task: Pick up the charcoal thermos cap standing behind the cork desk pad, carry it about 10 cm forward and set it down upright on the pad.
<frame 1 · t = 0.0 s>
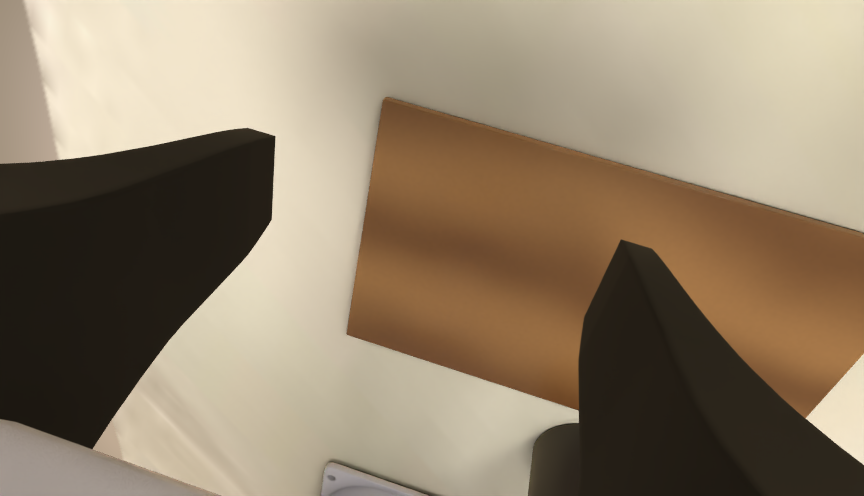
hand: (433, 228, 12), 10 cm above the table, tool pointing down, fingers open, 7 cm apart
desk pad: (591, 299, 24), on the table
thermos cap: (582, 458, 29), on the table
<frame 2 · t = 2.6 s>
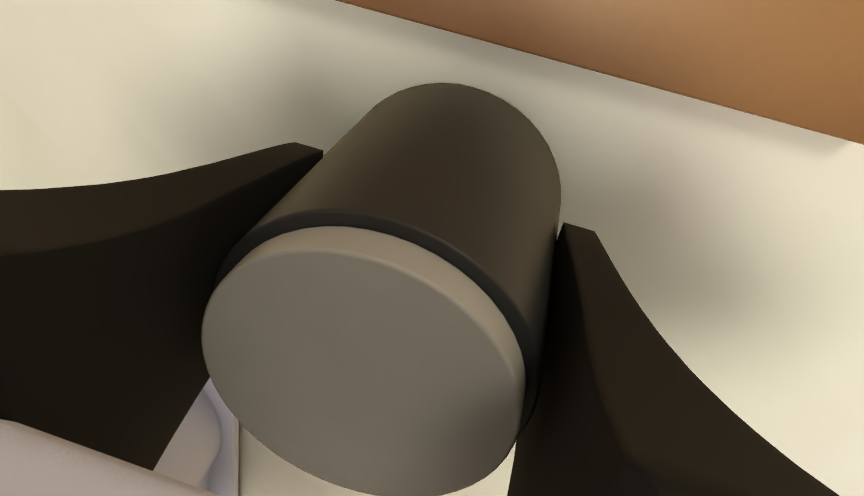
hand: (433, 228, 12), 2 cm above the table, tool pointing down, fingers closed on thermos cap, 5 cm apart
thermos cap: (448, 192, 13), on the table, touching gripper
when the fingers open (2 cm above the table, at t = 6.9 s): thermos cap stays where it is, resting on desk pad.
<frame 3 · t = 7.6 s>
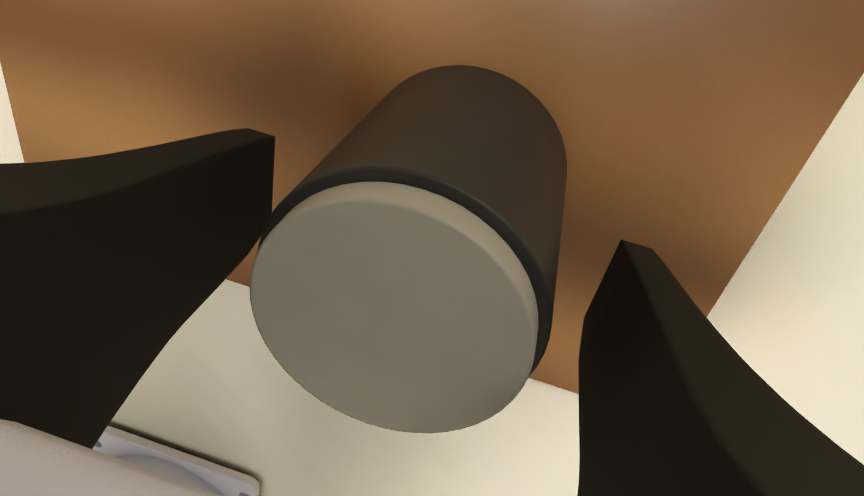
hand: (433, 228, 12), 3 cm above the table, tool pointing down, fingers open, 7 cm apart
desk pad: (352, 129, 14), on the table
thermos cap: (462, 168, 14), resting on desk pad
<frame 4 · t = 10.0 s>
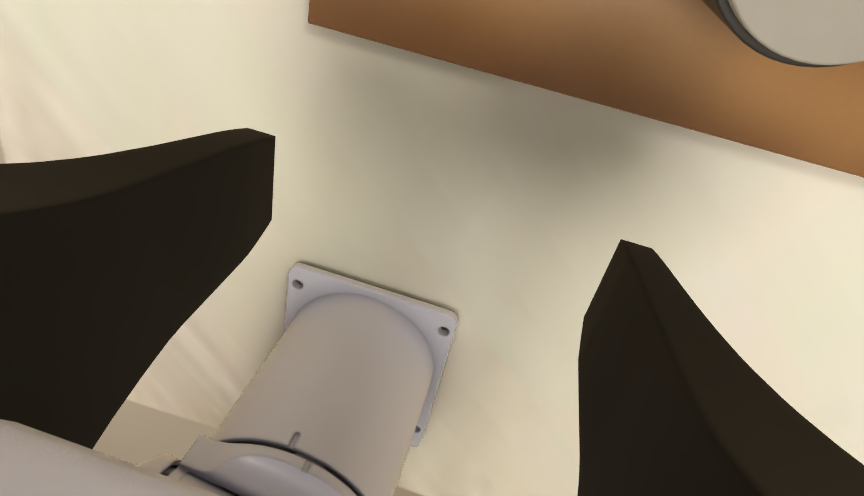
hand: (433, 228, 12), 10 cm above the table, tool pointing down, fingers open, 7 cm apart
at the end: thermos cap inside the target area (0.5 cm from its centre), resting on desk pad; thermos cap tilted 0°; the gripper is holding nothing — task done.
